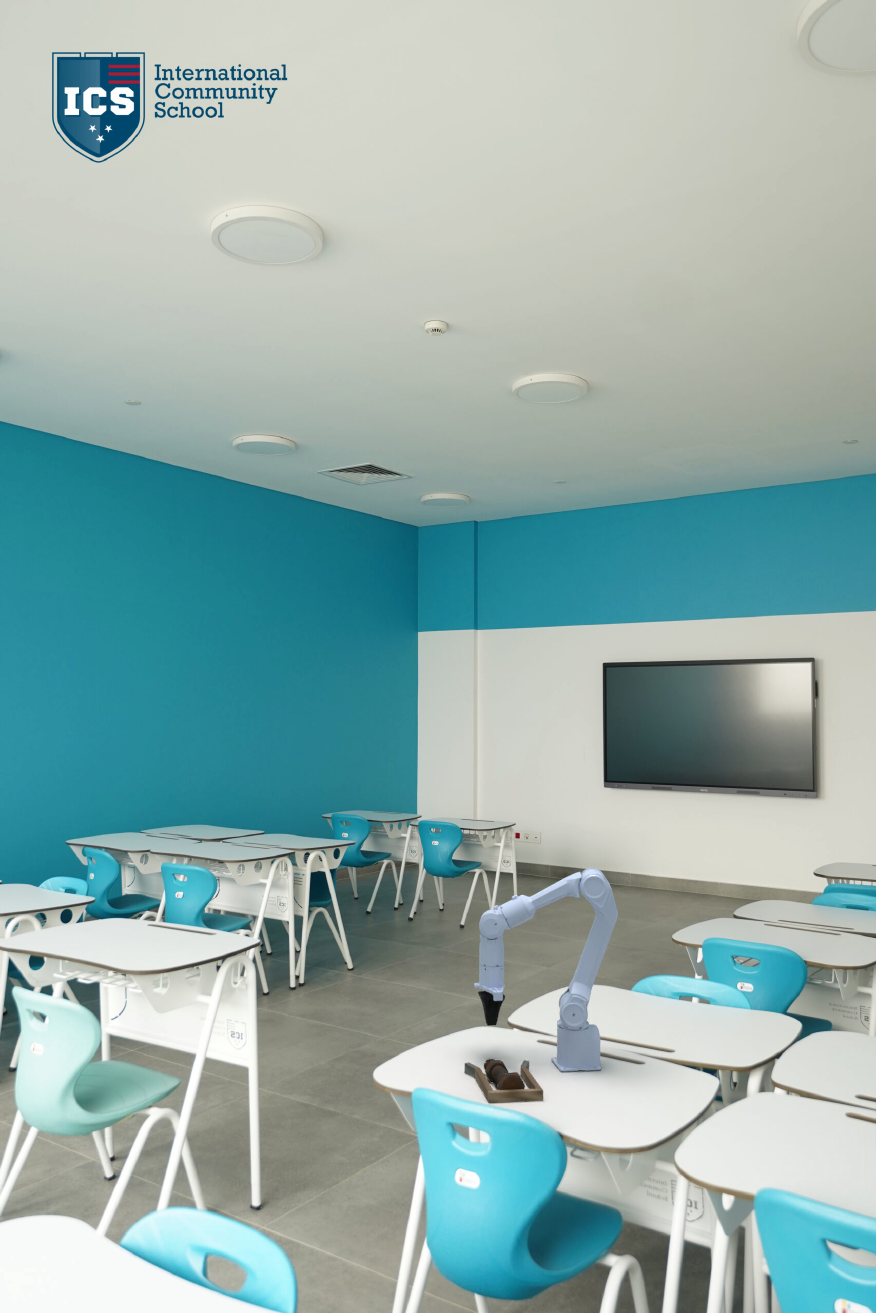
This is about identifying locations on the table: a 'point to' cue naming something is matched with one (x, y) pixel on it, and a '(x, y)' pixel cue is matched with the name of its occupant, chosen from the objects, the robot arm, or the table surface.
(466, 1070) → the frame
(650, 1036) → the table surface
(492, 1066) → the bolt
